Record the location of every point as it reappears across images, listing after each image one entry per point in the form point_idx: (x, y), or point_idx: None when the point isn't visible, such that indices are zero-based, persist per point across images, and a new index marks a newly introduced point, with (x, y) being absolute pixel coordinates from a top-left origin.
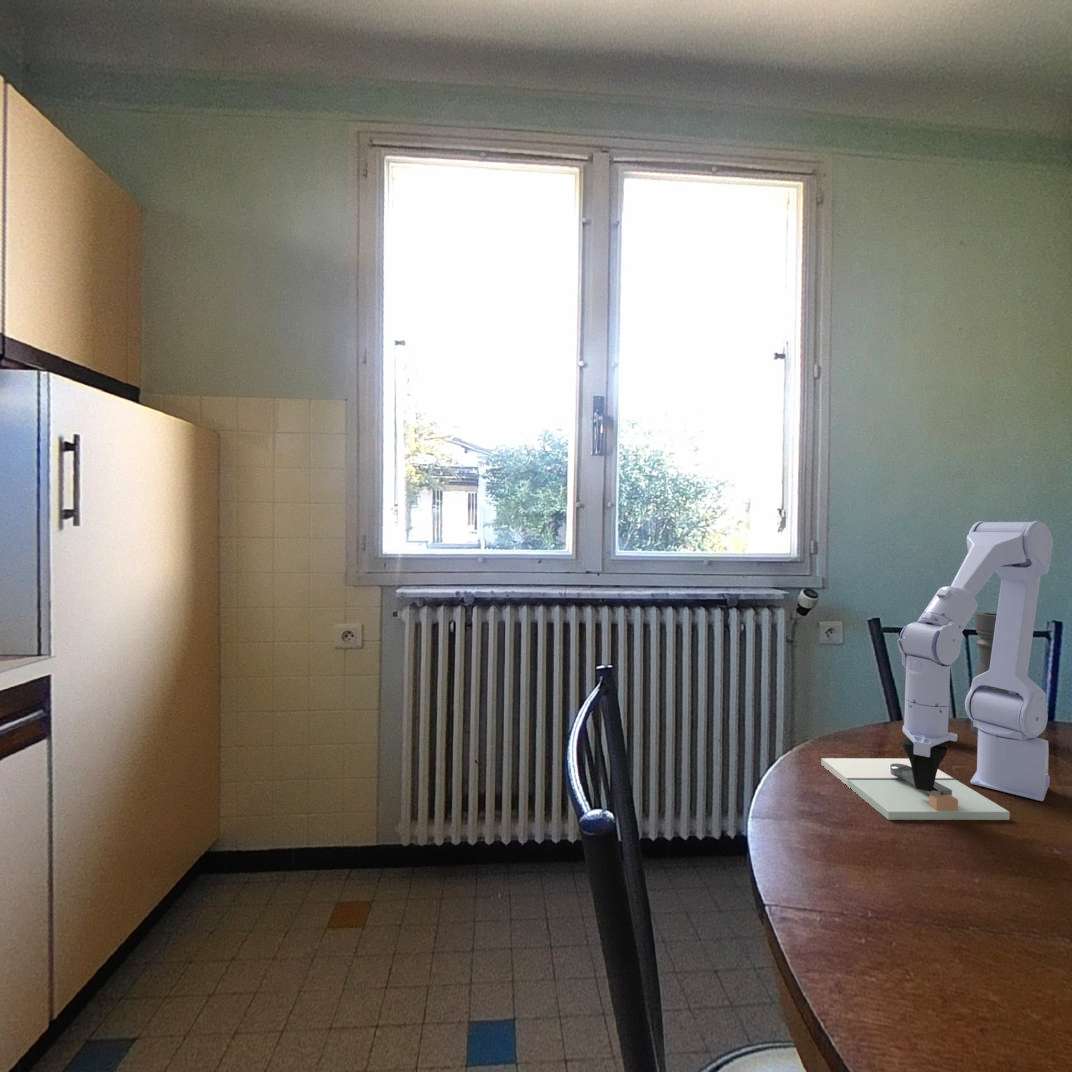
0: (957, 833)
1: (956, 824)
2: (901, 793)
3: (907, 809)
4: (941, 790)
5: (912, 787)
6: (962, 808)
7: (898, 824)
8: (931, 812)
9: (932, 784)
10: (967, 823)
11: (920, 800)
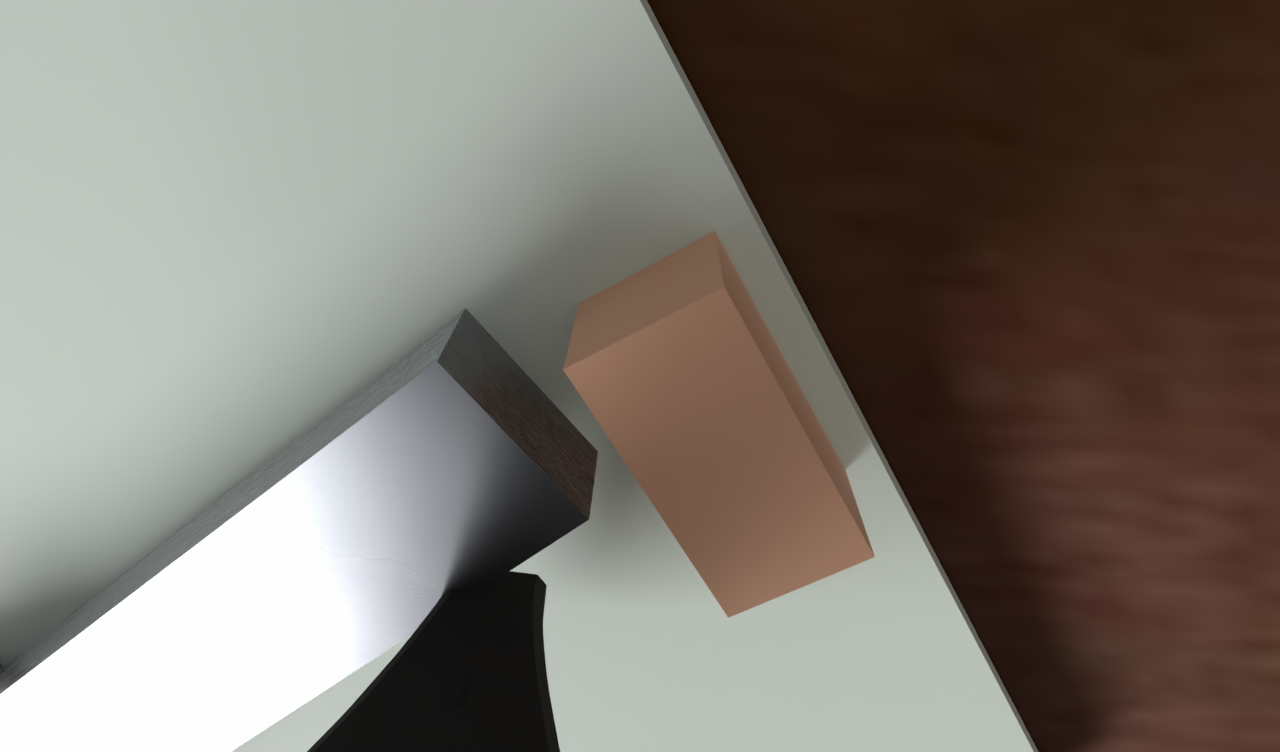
0: (1168, 249)
1: (899, 231)
2: None
3: (954, 714)
4: (554, 503)
5: None
6: (597, 161)
7: (1120, 713)
8: (905, 512)
9: (544, 651)
10: (806, 100)
11: (612, 594)
